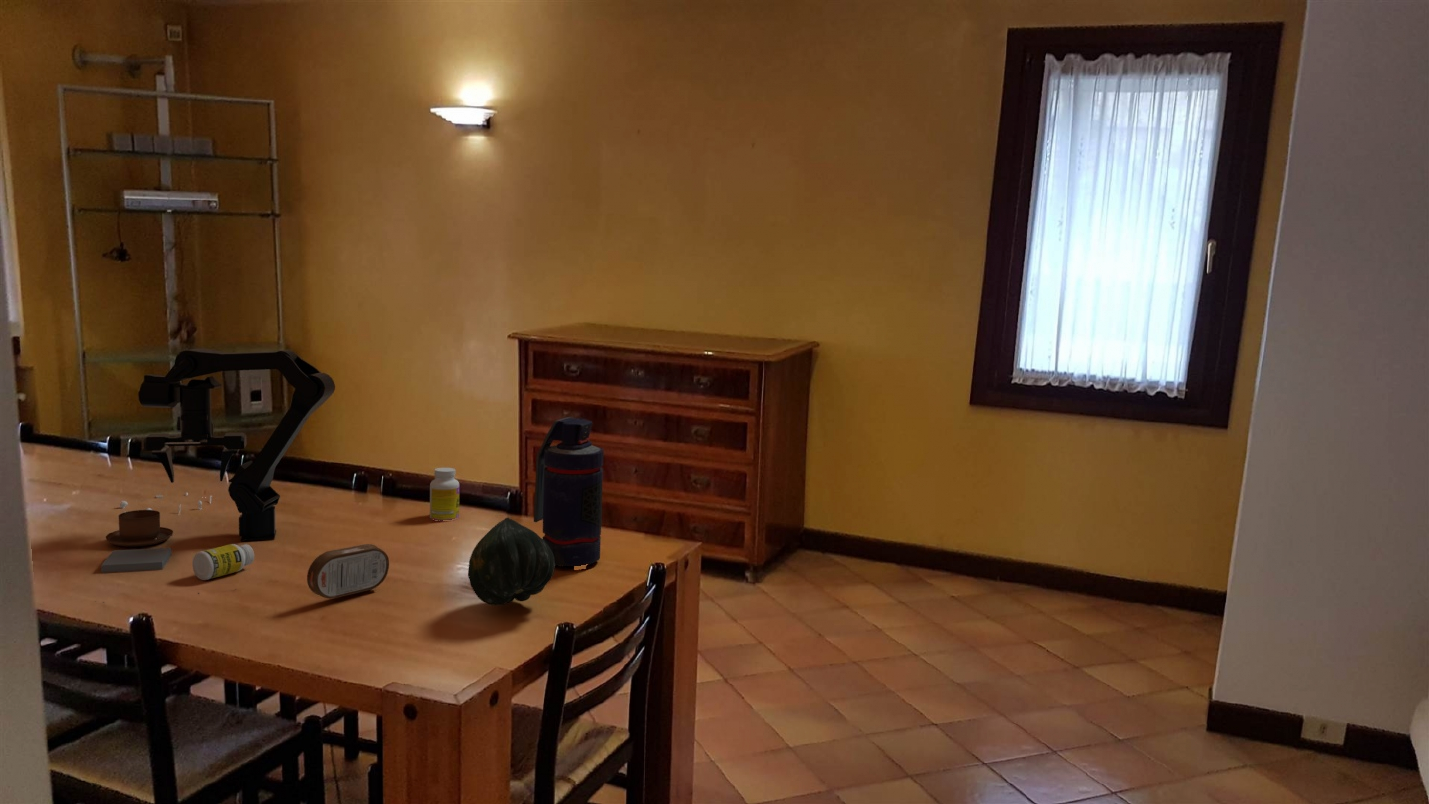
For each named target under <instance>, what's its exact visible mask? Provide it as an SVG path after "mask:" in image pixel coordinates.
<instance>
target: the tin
mask: <svg viewBox="0 0 1429 804" xmlns="http://www.w3.org/2000/svg"><path fill="white" fill-rule="evenodd" d="M389 558H390V557H389V556H388V554H387V553H386V552H385V551H384V550H383V549H381V548H380V547H378V546H377V545H375V544H372V543H364V544H359V545H353V546H349V547H343V548H338V549H332V550H327V551H324V552H323V553H321V554H319V555H318V556H317V557H316V558H314V560H312V562H311V564H310V566H309V568H308V570H307V574H306V583H307V586H308V588H309V589H310V591H311V592H312V593H314V594H315V595H317V596H320V597H322V598H325V599H331V600H332V599H336V598H341V597H345V596H349V595H354V594H358V593H363V592H368V591H371V590H373V589H376V588H378V587H379V586H380V585H381V584H382V583H383V582H384V581H385V579H386V577H387V575H388V573H389V570H390V569H389V568H390V559H389Z"/></svg>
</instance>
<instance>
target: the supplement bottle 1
mask: <svg viewBox="0 0 1429 804" xmlns="http://www.w3.org/2000/svg"><path fill="white" fill-rule="evenodd" d="M254 560H255V552H254V550H253V548H252V547H251V545H249V544H246V543H245V544H241V545H237V544H235V543H231V544H225V545H223V546H219V547H213V548H210V549H206V550H201V551H198V552H196V553H195V554H194V556H193V558H192V562H191V563H192V564H191V565H192V571H193V574H195V576H196V577H197V579H199V580H201V581H208V580H212V579H214V578H219V577H222V576H226V575H231V574H233V573H237V572H239V571H241V570H242V569H243V568H244V567H246V566H249V565H252V564H253V562H254Z"/></svg>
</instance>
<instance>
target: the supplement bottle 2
mask: <svg viewBox="0 0 1429 804" xmlns="http://www.w3.org/2000/svg"><path fill="white" fill-rule="evenodd" d="M455 475H456V469H455V468H453V467H438V468H435V469H434V477H435V478H434V479H432V480H431V482H430V484H429V519H430V518H431V519H434V520H440V521H443V520H452V519H455V518H458V517H459V518H460V482H459V481H458V479H456V478H455ZM459 518H458V519H459ZM431 519H430V520H431Z"/></svg>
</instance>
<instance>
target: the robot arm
mask: <svg viewBox="0 0 1429 804" xmlns="http://www.w3.org/2000/svg"><path fill="white" fill-rule="evenodd" d="M258 370H260V371H261V370H263V371H265V370H277V371H278V372H280V373H281V375H282V376H283V377H284V379H285V380H286V381H287V383H288V384H290V386H291V387H292V388H294V391H293V393H292V395H291V401H290V405H289V408H288V409H287V412H285V414H284V415H283V417H282V419H281V420H280V422H279V423H278V425H277V427H276V428H275V429H274V431H273V432H272V434H271V435H270V436H269V438H268V440H267V441H266V443H264V444H265V445H264V446H263V447H262V449H261V450H260V452H259V453H258V455H257V456H256V458H255V459H254V460H249V461H247V462H245V463H243V464H240V465H238V467H237V469H236V471H235V473H234V475H233V476H232V477H231V478H230V479H228V483H229V485H228V488H227V489H228V490H227V491H228V495H229V497H230V499H231V500H232V501H233V502H234V504H235V506H236V508H237V511H238V513H239V514H240V515H239V517H238V537H240V541H241V542H244V541H245V542H246V541H261V540H262V541H264V540H265V541H266V540H267V541H268V540H275V539H276V535H277V529H276V506H277V505H278V504H279V501H280V498H281V495H280V494H279V493H278V492H277V491H276V490H275V489H274V488H273V487H272V486H271V484H272V482H273V479H274V475H275V474H274V473H275V470H276V467H277V465H278V464H279V463H280V461H281V459H282V458H283V457H284V455H285V453H286V452H287V451H288V449H289V447H290V446H291V445H292V443H293V442H294V440H295V439H296V437H297V435H298V434H299V433H300V431H301V430H302V428H304V427H303V426H304V425H305V424H306V422H307V421H308V419H309V417H310V416H311V415H312V414H313V413H314V412H316V411H317V410H318V409H319V408H321V407H322V406H323V404H325V403H326V401H327V400H328V399H329V398H331V396H332V395H333V394H334V393H335V390H336V384H335V381H334V380H333V377H332V376H331V375H329V374H328V373H327V372H326V373H325V372H321V371H320V370H319V369H318V368H317V367H316V366H314V365H312V364H311V363H309V362H307V361H306V360H304V359H303V358H301V357H300V356H299V355H298V354H297V353H295V352H294V351H293V350H291V349H284V350H278V351H277V350H274V351H271V350H270V351H245V352H243V351H242V352H240V351H239V352H226V351H220V350H217V349H216V350H215V349H211V348H210V349H209V348H202V347H201V348H199V347H198V348H194V349H193V348H192V349H185V350H182V351H180V352H178V354H176V357H175V359H174V364H173V366H172V367H171V369H170V370H169V371H168V372H167V373H166V374H165V375H159V374H158V375H157V374H144V376H143V381H142V383H141V384H140V387H139V391H137V392H138V401H139V403H140V405H141V406H142V407H146V408H167V409H168V408H170V409H173V408H175V407H176V406H177V405H178V404H179V407H180V408H179V413H180V414H179V415H180V416H177V419H176V430H177V432H178V433H180V437H177V436H175V437H174V436H173V437H171V436H170V433H167V432H166V433H160V432H159V433H149V435H147V436H146V437H145V438H144V439H143V451H145V452H150V455H151V456H156V457H157V459H158V460H159V462H160V463H161V465H162V466H163V469H164V471H165V472H166V474H167V476H168V479H169V481H170V483H172V484H173V483H174V482H175V471H174V465H173V457H172V447H195V446H196V447H197V446H198V447H199V446H201V447H202V446H203V447H204V446H223V450H222V451H221V461H220V467H219V468H220V469H219V482H223V481H224V477H225V474H226V471H227V469H228V465H229V463H230V460H231V458H232V456H233V454H238V453H239V451H240V450H245V449H246V446H247V443H248V442H247V434H246V433H245V432H225V434H224V435H223V436H214V431H215V430H214V421H213V420H212V396H211V395H212V393H211V392H212V391H211V390H213V389H217V388H221V387H222V383H221V382H219V381H218V380H216V378H215V377H214V376H213V375H211V374H215V373H220V372H231V371H235V372H236V371H258ZM206 375H211V376H207V377H206V378H205V379H200V378H199V379H197V378H196V377H201V376H206ZM194 378H195V379H194ZM187 380H190V381H189V382H188V383H186V382H181V381H187Z"/></svg>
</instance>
